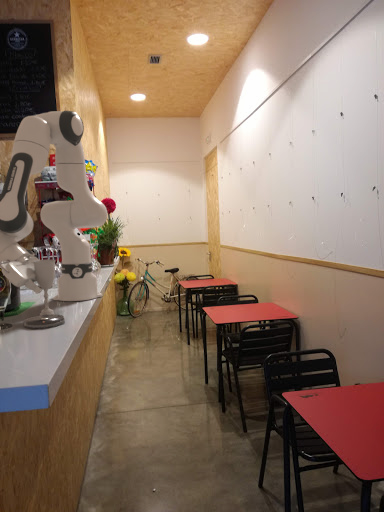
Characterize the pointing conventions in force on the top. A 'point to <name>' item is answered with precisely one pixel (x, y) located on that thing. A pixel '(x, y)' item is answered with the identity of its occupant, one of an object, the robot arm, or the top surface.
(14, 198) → the robot arm
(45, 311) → the chalice
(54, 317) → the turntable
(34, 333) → the top surface
